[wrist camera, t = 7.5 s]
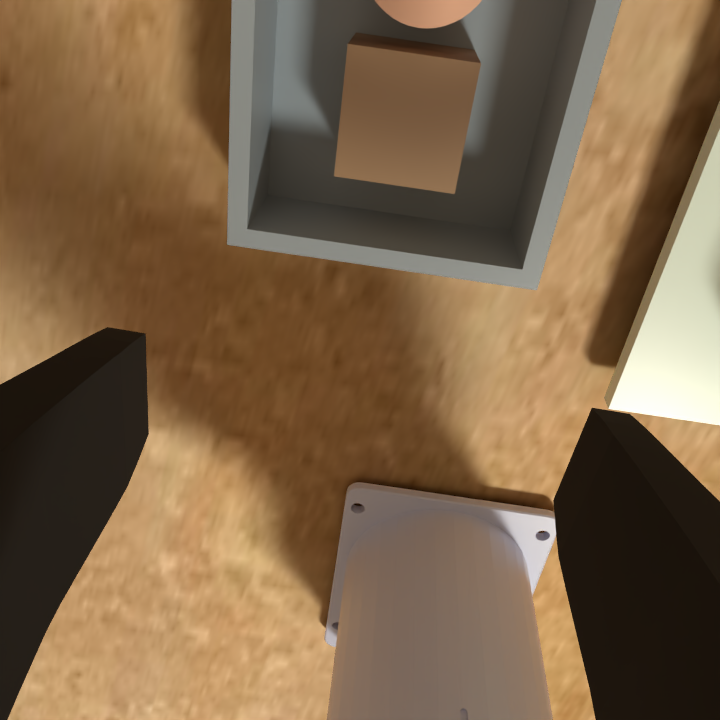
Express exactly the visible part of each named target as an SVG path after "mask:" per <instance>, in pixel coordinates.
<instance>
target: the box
mask: <svg viewBox="0 0 720 720" xmlns="http://www.w3.org/2000/svg"><path fill="white" fill-rule="evenodd" d="M621 1H622V0H482V1H481V2H480V3H479V4H478V6H477V7H475V8H474V9H473V10H472V11H471V12H470V13H469V14H467V15H466V16H464V17H463V18H462V19H460V20H458V21H456V22H454V23H451V24H449V25H446V26H442V27H437V28H417V27H412V26H408V25H406V24H403V23H401V22H399V21H397V20H395V19H394V18H392V17H391V16H390V15H388V14H387V13H386V12H385V11H384V10H383V9H382V8H381V7H380V6H379V5H378V4H377V3H376V1H375V0H232V14H231V66H230V118H229V171H228V223H227V245H232V246H239V247H245V248H252V249H259V250H266V251H273V252H280V253H286V254H293V255H300V256H307V257H314V258H320V259H327V260H334V261H341V262H348V263H354V264H361V265H368V266H375V267H382V268H388V269H395V270H402V271H409V272H416V273H423V274H429V275H436V276H443V277H450V278H457V279H463V280H470V281H477V282H484V283H491V284H497V285H504V286H511V287H518V288H525V289H532V290H537V288H538V285H539V281H540V278H541V274H542V271H543V268H544V264H545V261H546V257H547V254H548V250H549V247H550V244H551V240H552V237H553V233H554V230H555V227H556V223H557V220H558V216H559V213H560V209H561V206H562V203H563V199H564V196H565V192H566V189H567V186H568V182H569V179H570V175H571V172H572V169H573V165H574V162H575V158H576V155H577V151H578V148H579V145H580V141H581V138H582V134H583V131H584V128H585V124H586V121H587V117H588V114H589V110H590V107H591V104H592V100H593V97H594V93H595V90H596V87H597V83H598V80H599V76H600V73H601V69H602V66H603V63H604V59H605V56H606V52H607V49H608V46H609V42H610V39H611V35H612V32H613V28H614V25H615V22H616V18H617V15H618V11H619V8H620V5H621ZM355 33H363V34H370V35H377V36H384V37H391V38H397V39H404V40H411V41H418V42H425V43H432V44H438V45H445V46H452V47H459V48H466V49H473V50H475V51H476V54H477V56H478V58H479V60H480V62H481V67H480V71H479V76H478V81H477V86H476V91H475V96H474V101H473V106H472V111H471V116H470V121H469V126H468V131H467V135H466V140H465V145H464V150H463V155H462V160H461V165H460V170H459V175H458V180H457V185H456V190H455V194H451V193H444V192H437V191H431V190H424V189H417V188H410V187H403V186H397V185H390V184H383V183H376V182H369V181H362V180H356V179H349V178H342V177H335V176H334V171H335V162H336V152H337V142H338V133H339V123H340V113H341V104H342V94H343V84H344V75H345V65H346V56H347V46H348V43H349V41H350V40H351V39H352V37H353V36H354V35H355Z"/></svg>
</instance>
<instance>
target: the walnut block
mask: <svg viewBox="0 0 720 720" xmlns="http://www.w3.org/2000/svg"><path fill="white" fill-rule="evenodd" d="M480 67H481V62H480V60H479V58H478V56H477V54H476V51H475V50H473V49H466V48H459V47H452V46H445V45H438V44H432V43H425V42H418V41H411V40H404V39H397V38H391V37H384V36H377V35H370V34H363V33H355V35H354V36H353V37H352V39H351V40H350V41H349V43H348V46H347V56H346V65H345V75H344V84H343V94H342V104H341V113H340V123H339V133H338V142H337V152H336V162H335V171H334V176H335V177H342V178H349V179H356V180H362V181H369V182H376V183H383V184H390V185H397V186H403V187H410V188H417V189H424V190H431V191H437V192H444V193H451V194H455V190H456V185H457V180H458V175H459V170H460V165H461V160H462V155H463V150H464V145H465V140H466V135H467V131H468V126H469V121H470V116H471V111H472V106H473V101H474V96H475V91H476V86H477V81H478V76H479V71H480Z"/></svg>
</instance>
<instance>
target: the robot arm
mask: <svg viewBox="0 0 720 720" xmlns="http://www.w3.org/2000/svg"><path fill="white" fill-rule="evenodd" d="M148 434H149V433H148V400H147V367H146V334H144V333H138V332H132V331H126V330H120V329H114V328H108V327H107V328H105V329H103V330H101V331H99V332H97V333H95V334H93V335H91V336H89V337H87V338H85V339H83V340H82V341H80V342H78V343H76V344H74V345H72V346H71V347H69V348H67V349H65V350H63V351H62V352H60V353H58V354H56V355H54V356H52V357H51V358H49V359H47V360H45V361H43V362H41V363H40V364H38V365H36V366H34V367H32V368H30V369H28V370H27V371H25V372H23V373H21V374H19V375H17V376H15V377H14V378H12V379H10V380H8V381H6V382H4V383H2V384H0V720H7V719H8V717H9V715H10V712H11V710H12V707H13V705H14V703H15V700H16V698H17V696H18V693H19V691H20V689H21V687H22V684H23V682H24V680H25V678H26V675H27V673H28V671H29V669H30V666H31V664H32V662H33V660H34V657H35V655H36V653H37V651H38V648H39V646H40V644H41V642H42V639H43V637H44V635H45V633H46V631H47V629H48V627H49V625H50V623H51V621H52V619H53V617H54V615H55V613H56V611H57V609H58V608H59V606H60V604H61V602H62V600H63V598H64V597H65V595H66V593H67V592H68V590H69V588H70V586H71V585H72V583H73V581H74V579H75V578H76V576H77V574H78V572H79V571H80V569H81V567H82V565H83V564H84V562H85V560H86V559H87V557H88V555H89V553H90V552H91V550H92V548H93V546H94V545H95V543H96V541H97V539H98V538H99V536H100V534H101V532H102V531H103V529H104V527H105V526H106V524H107V522H108V520H109V518H110V517H111V515H112V513H113V511H114V510H115V508H116V506H117V504H118V503H119V501H120V499H121V497H122V495H123V494H124V492H125V490H126V488H127V486H128V484H129V481H130V479H131V477H132V474H133V472H134V470H135V467H136V465H137V462H138V460H139V457H140V455H141V452H142V449H143V447H144V444H145V442H146V439H147V437H148ZM355 503H359V504H362V506H356V505H354V504H355ZM539 531H546V532H544V533H538V532H539ZM555 537H557V546H558V555H559V560H560V565H561V570H562V574H563V578H564V583H565V587H566V591H567V596H568V600H569V604H570V608H571V613H572V617H573V621H574V625H575V629H576V633H577V637H578V642H579V646H580V650H581V654H582V658H583V662H584V667H585V671H586V675H587V679H588V683H589V687H590V692H591V697H592V703H593V708H594V713H595V718H596V720H720V501H719V500H718V499H717V498H715V497H714V496H713V495H712V494H711V493H710V492H709V491H708V490H707V489H706V488H705V487H704V486H703V485H702V484H701V483H700V482H699V481H698V480H697V479H696V478H695V477H694V476H693V475H692V474H691V473H690V472H689V471H688V470H687V469H686V468H685V467H684V466H683V465H682V464H681V463H680V462H679V461H678V460H677V459H676V458H675V457H674V456H673V455H672V454H671V453H670V452H669V451H668V450H667V449H666V448H665V447H664V446H663V445H662V444H661V443H660V442H659V441H658V440H657V439H656V438H655V437H654V436H653V435H652V434H651V433H650V432H649V431H648V430H647V429H646V428H645V427H644V426H643V425H642V424H641V423H639V422H638V421H637V420H636V419H635V418H634V417H633V416H631V415H630V414H626V413H620V412H614V411H608V410H602V409H596V408H592V409H591V411H590V414H589V416H588V419H587V421H586V423H585V426H584V428H583V431H582V433H581V435H580V438H579V440H578V443H577V445H576V447H575V450H574V452H573V455H572V457H571V459H570V462H569V464H568V467H567V469H566V471H565V474H564V476H563V479H562V481H561V484H560V486H559V488H558V491H557V493H556V496H555V498H554V512H553V511H550V510H546V509H539V508H532V507H526V506H519V505H512V504H505V503H498V502H492V501H485V500H478V499H471V498H465V497H458V496H451V495H444V494H437V493H431V492H424V491H417V490H410V489H404V488H397V487H390V486H383V485H376V484H370V483H363V482H356V483H353V484H351V485H350V486H349V487H348V489H347V493H346V499H345V506H344V513H343V519H342V526H341V532H340V539H339V545H338V552H337V559H336V565H335V572H334V578H333V585H332V591H331V598H330V604H329V611H328V618H327V624H326V631H325V641H326V642H327V644H329V645H331V646H334V647H336V649H335V658H334V666H333V674H332V682H331V690H330V698H329V706H328V714H327V720H553V717H552V711H551V705H550V699H549V693H548V687H547V681H546V675H545V669H544V663H543V657H542V651H541V645H540V639H539V633H538V627H537V621H536V615H535V609H534V603H533V597H532V595H533V593H534V590H535V588H536V585H537V583H538V580H539V578H540V575H541V573H542V570H543V567H544V565H545V562H546V560H547V557H548V555H549V552H550V550H551V547H552V545H553V542H554V540H555Z"/></svg>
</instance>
